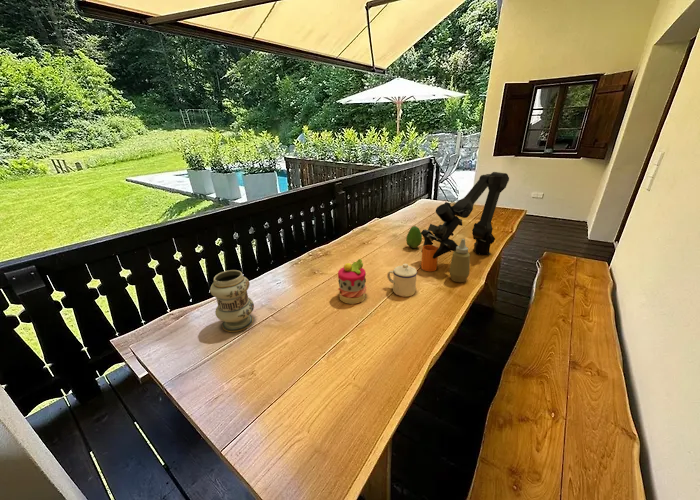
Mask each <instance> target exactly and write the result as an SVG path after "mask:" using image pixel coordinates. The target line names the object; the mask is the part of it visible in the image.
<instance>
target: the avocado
mask: <svg viewBox="0 0 700 500" xmlns="http://www.w3.org/2000/svg"><path fill="white" fill-rule="evenodd" d="M421 232H422V231H421V229H420V228H419V227H418V226H417V225H412V226H411V227H410V229H409V231H408V232H407V235H406V239H405V242H406V244H407V247H409V248H411V249H417V248H418V247H420V245H421V244H422V241H423V235H422V234H421Z"/></svg>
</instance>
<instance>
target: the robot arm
mask: <svg viewBox="0 0 700 500" xmlns="http://www.w3.org/2000/svg"><path fill="white" fill-rule="evenodd" d="M509 181H510V176H509V174H508V173H506V172H500V171H499V172H497V171H492V172H491V173H486V174H480V176H479V179H478V180H477V181H476V182H475V184H474V185H473V186H472V187H471V188H470V190H469V191H468V192H467V194H466V195H465V196H464V197H463V198H461V199H458V200H457V201H456V202H455V203H454V204H453V205H452V204H451V203H450V202H447V201H445V202H444V203H442V204H440V205H438V206H437V207H436V208H435V214H436V215H437V216H438V217H439V219H440V220H441V221H442V222H443V223H442V224H438V225H436V224H433V223H430V224H429V226H428V228H427V229H426V228H425V229H422V230H421V231H420V232H421V235H422V238H424V239H423V240H424V241H423V244H422V247H423V246H425V245H434V243H433V242H434V241H435V242H436V243H437V242H438V243H439V246H438V250H437V251H436V253H435V254H434V256H433V258H434V259H435V258H437V257H438V258H439V257H441V256H443V255H445V254H447V253H451V252H455V251H456V247H457V246H459V244H457V242H455V240H453V239H450V237H453V236H454V231H455V230H456V229H457V227H458V226H461V227H463V219H466V218H468V217H469V216H470V215H471V213H472V212H473V210H474V205H475V204H476V202H477V201H478V199H479V198H480V197H481V196H482V195H483V193H484V192H485V191H486V190H487V189H488V193H487V195H486V198H485V199H486V200H485V203H484V206H483V209H482V213H481V216H480V219H479V221H477V222H475V223H474V224H473V228H472V232H471V233H472V239H473V240H474V241H475V242H474V245H473V248H472V250H473V252H474V253H475V254H476V255H479V256H480V255H481V256H482V255H483V256H484V255H488V256H489V255H491V252H490V249H491V245H492V244H493V243H494V242H495V240H496V237H495V236H494V235H493V229H494V227H493V225H492V220H493V218H494V214H495V211H496V208H497V204H498V202H499V199H500V196H501V193H502V192H503V191H504V190H505V189H506V188H507V186H508V184H509ZM420 251H421V253H422V250H420Z"/></svg>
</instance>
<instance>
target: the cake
mask: <svg viewBox="0 0 700 500" xmlns="http://www.w3.org/2000/svg"><path fill="white" fill-rule="evenodd" d="M363 266H364V263H363V260H362V259H361V258H358V259H357V260H356V261H354V262H352V263H350V262H346V263H345V264H344V265H343V267H341V268H340V269H339V270H338V271H337V279H338V282H337V283H338V289H337V290H338V291H339V300H340V301H341V302H343V303H345V304H350V305H352V304H353V305H355V304H359V303H361V302H363V301H364V300H365V299H366V292H367V285H366V282H367V279H366V275H367V274H366V270H365V268H363Z"/></svg>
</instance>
